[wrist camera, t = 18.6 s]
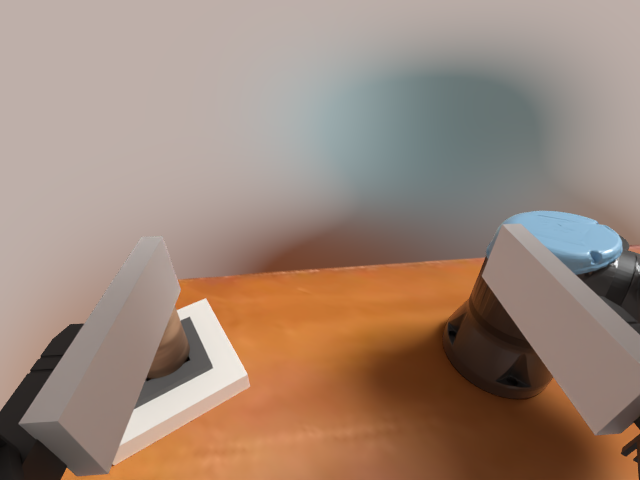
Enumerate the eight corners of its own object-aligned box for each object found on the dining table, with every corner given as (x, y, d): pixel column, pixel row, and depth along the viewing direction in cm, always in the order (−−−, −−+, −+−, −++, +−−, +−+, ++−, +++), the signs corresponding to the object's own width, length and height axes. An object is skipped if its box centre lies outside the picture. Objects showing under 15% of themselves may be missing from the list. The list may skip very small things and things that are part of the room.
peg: (187, 344, 51) (159, 266, 41) (201, 377, 46) (173, 298, 37) (141, 365, 47) (99, 287, 38) (151, 403, 43) (106, 325, 34)
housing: (209, 310, 56) (204, 294, 54) (250, 386, 45) (246, 370, 43) (98, 358, 49) (87, 341, 46) (114, 465, 37) (100, 450, 35)
